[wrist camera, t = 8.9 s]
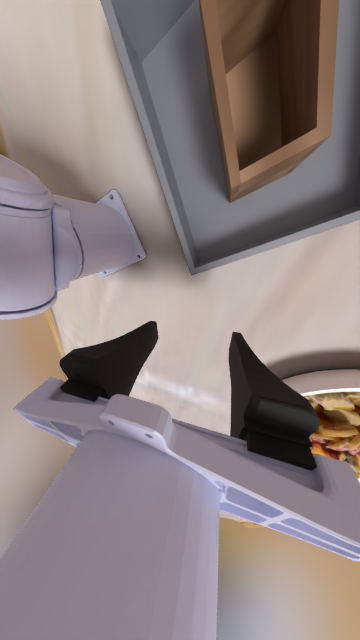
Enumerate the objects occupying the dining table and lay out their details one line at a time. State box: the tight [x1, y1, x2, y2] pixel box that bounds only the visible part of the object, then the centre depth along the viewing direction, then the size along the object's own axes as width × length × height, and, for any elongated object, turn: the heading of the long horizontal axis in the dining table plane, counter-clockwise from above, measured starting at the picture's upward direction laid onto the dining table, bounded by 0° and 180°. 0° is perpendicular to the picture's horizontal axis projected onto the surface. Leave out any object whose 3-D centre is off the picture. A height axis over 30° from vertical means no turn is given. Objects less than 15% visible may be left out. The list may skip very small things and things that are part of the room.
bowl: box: [282, 369, 360, 483], centre depth 23 cm, size 30×30×8 cm
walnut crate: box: [199, 0, 339, 203], centre depth 9 cm, size 5×8×6 cm, turn 22°
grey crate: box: [100, 0, 360, 275], centre depth 11 cm, size 15×17×4 cm
